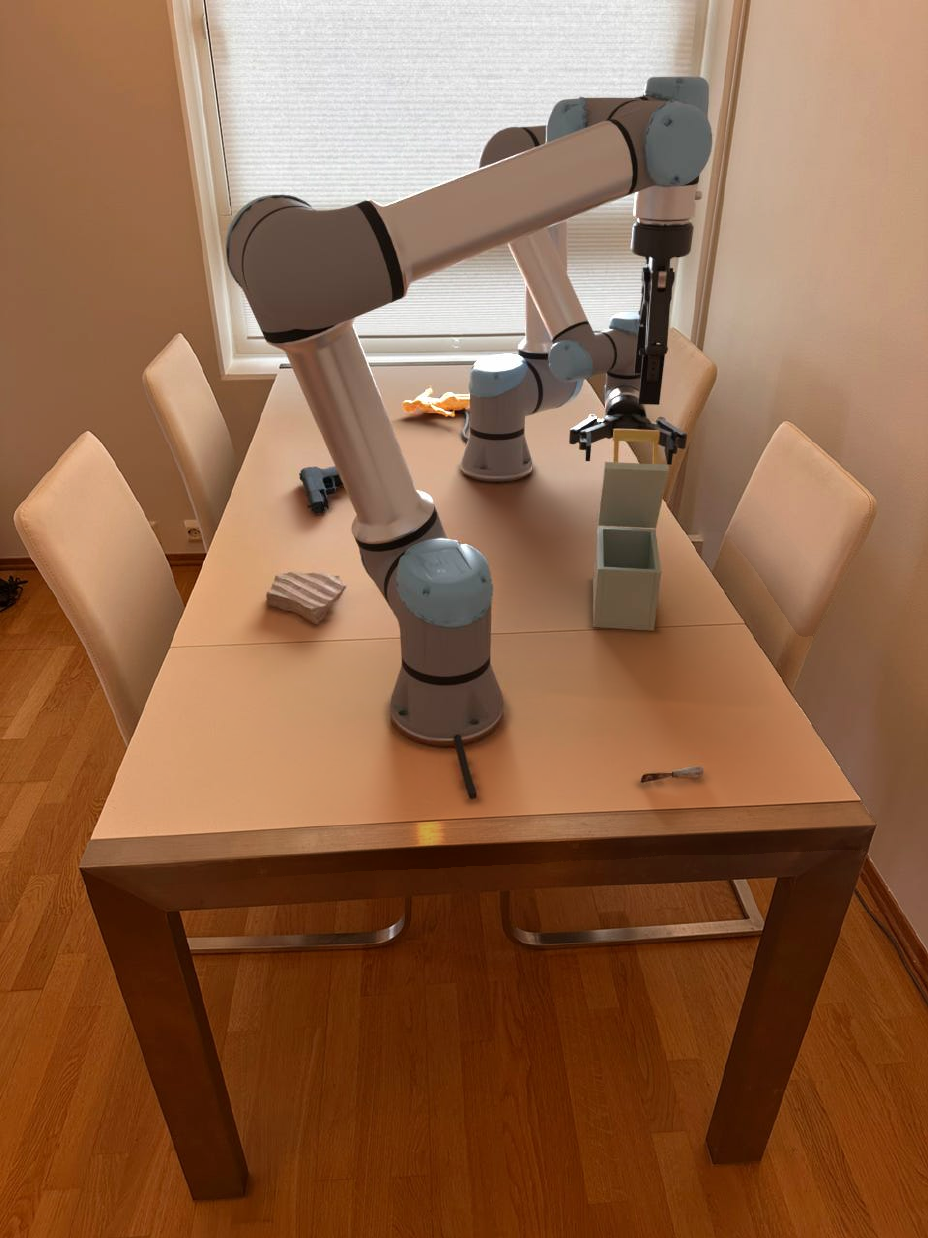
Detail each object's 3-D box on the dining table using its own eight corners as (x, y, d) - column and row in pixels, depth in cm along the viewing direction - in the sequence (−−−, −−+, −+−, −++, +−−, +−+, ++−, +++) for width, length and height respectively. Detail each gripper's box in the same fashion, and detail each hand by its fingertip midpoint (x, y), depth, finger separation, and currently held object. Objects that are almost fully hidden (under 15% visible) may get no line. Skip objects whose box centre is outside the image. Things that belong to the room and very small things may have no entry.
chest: (653, 631, 138) (661, 572, 133) (593, 627, 139) (598, 568, 134) (648, 584, 150) (655, 529, 145) (593, 581, 151) (597, 526, 146)
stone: (356, 590, 149) (354, 577, 147) (319, 626, 139) (317, 612, 138) (289, 576, 153) (287, 563, 152) (249, 610, 144) (247, 596, 142)
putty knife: (703, 777, 109) (705, 767, 109) (642, 788, 108) (644, 777, 107) (700, 772, 110) (702, 762, 109) (639, 782, 109) (640, 771, 108)
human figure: (395, 413, 223) (394, 398, 221) (438, 390, 237) (438, 375, 235) (462, 429, 215) (462, 413, 213) (502, 404, 229) (503, 388, 227)
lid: (669, 471, 131) (668, 422, 135) (604, 468, 132) (606, 420, 136) (656, 528, 144) (656, 482, 148) (597, 525, 145) (599, 480, 149)
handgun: (369, 509, 176) (308, 516, 174) (354, 474, 190) (298, 480, 188) (368, 494, 174) (307, 501, 172) (353, 460, 189) (296, 466, 186)
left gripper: (704, 237, 101) (681, 419, 112) (685, 206, 122) (667, 362, 133) (637, 236, 101) (620, 416, 113) (629, 206, 122) (616, 361, 134)
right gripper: (690, 434, 168) (701, 479, 150) (557, 429, 171) (553, 472, 153) (695, 395, 164) (708, 436, 146) (559, 391, 167) (555, 430, 149)
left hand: (646, 387), depth 123 cm, fingers open, 13 cm apart
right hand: (629, 455), depth 150 cm, fingers open, 13 cm apart
